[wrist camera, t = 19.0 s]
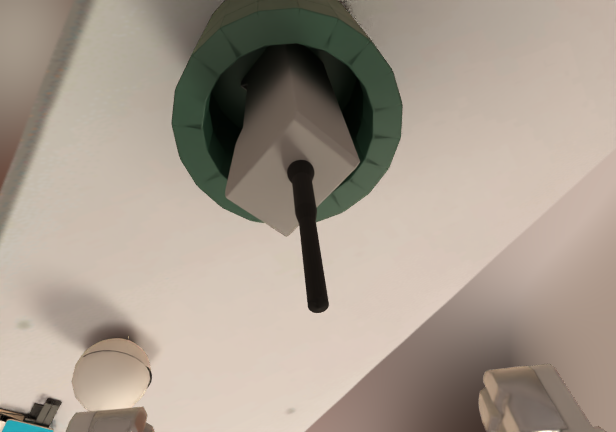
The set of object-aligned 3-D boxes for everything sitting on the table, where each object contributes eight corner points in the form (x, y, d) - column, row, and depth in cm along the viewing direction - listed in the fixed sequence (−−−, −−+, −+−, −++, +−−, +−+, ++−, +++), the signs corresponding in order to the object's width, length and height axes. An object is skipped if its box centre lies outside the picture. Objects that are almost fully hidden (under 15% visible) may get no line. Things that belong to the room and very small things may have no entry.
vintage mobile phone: (240, 80, 34) (201, 342, 14) (283, 26, 32) (314, 231, 12) (279, 111, 36) (299, 389, 15) (322, 61, 34) (412, 298, 13)
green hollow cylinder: (184, -15, 31) (146, 19, 21) (363, -30, 32) (408, -2, 22) (215, 149, 38) (197, 234, 28) (362, 136, 38) (397, 215, 28)
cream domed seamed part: (139, 377, 53) (122, 438, 47) (74, 354, 50) (48, 416, 44) (182, 324, 49) (170, 384, 43) (114, 296, 46) (91, 355, 40)
